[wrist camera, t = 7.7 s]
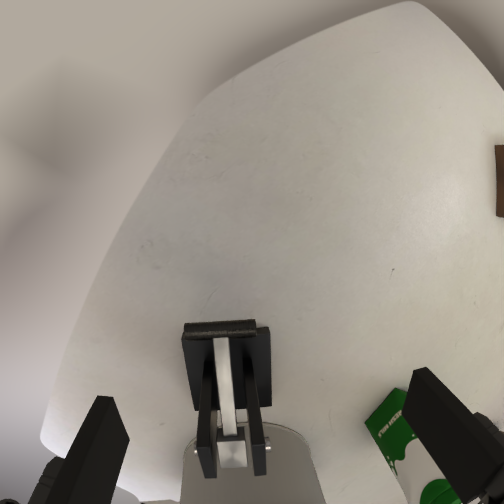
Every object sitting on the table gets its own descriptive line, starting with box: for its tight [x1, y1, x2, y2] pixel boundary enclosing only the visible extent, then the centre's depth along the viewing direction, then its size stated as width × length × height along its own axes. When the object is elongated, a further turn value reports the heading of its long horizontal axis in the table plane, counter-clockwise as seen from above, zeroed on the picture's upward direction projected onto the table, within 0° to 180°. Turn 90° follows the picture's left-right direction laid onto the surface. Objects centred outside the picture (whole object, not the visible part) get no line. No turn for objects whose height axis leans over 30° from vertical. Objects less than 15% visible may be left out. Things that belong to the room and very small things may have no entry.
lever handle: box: [184, 319, 257, 468], centre depth 20 cm, size 12×5×2 cm, turn 3°
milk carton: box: [365, 388, 462, 504], centre depth 26 cm, size 9×9×20 cm
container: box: [180, 423, 326, 504], centre depth 28 cm, size 19×19×15 cm
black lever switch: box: [181, 327, 272, 479], centre depth 25 cm, size 10×9×14 cm
